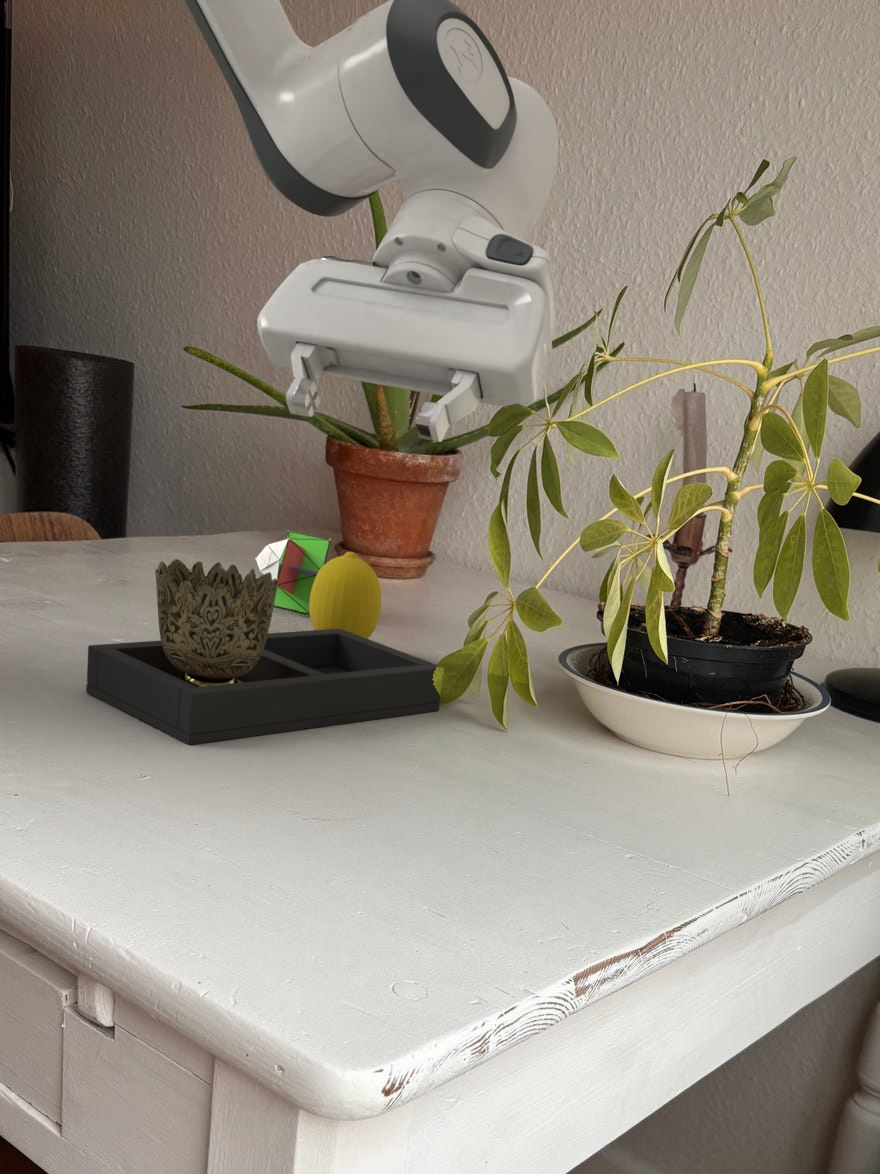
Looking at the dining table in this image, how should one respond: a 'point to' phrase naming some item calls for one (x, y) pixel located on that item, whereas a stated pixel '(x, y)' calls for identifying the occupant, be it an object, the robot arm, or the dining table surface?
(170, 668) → the tray
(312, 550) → the geometric puzzle
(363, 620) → the lemon
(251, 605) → the cup
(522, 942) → the dining table surface
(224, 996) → the dining table surface
